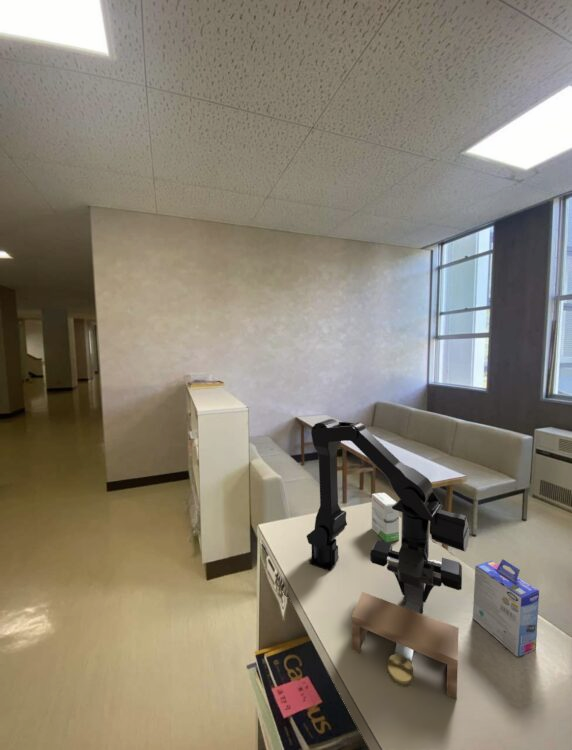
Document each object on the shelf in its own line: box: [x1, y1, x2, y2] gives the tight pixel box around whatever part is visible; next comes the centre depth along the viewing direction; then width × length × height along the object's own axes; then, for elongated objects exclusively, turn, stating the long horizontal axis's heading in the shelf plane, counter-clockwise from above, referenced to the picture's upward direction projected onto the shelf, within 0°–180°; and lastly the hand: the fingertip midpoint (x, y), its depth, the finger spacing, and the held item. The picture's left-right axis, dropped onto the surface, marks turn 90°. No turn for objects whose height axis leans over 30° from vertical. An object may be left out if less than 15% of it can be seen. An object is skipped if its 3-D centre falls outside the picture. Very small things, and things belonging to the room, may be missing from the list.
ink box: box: [371, 492, 400, 543], centre depth 99 cm, size 9×5×12 cm, turn 15°
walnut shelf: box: [351, 591, 460, 700], centre depth 59 cm, size 18×7×7 cm, turn 60°
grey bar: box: [394, 583, 425, 665], centre depth 66 cm, size 4×18×7 cm, turn 151°
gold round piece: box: [387, 653, 415, 688], centre depth 56 cm, size 4×4×2 cm
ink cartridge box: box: [472, 558, 540, 657], centre depth 64 cm, size 10×6×14 cm, turn 20°
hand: (413, 597), depth 71 cm, fingers closed on grey bar, 4 cm apart
